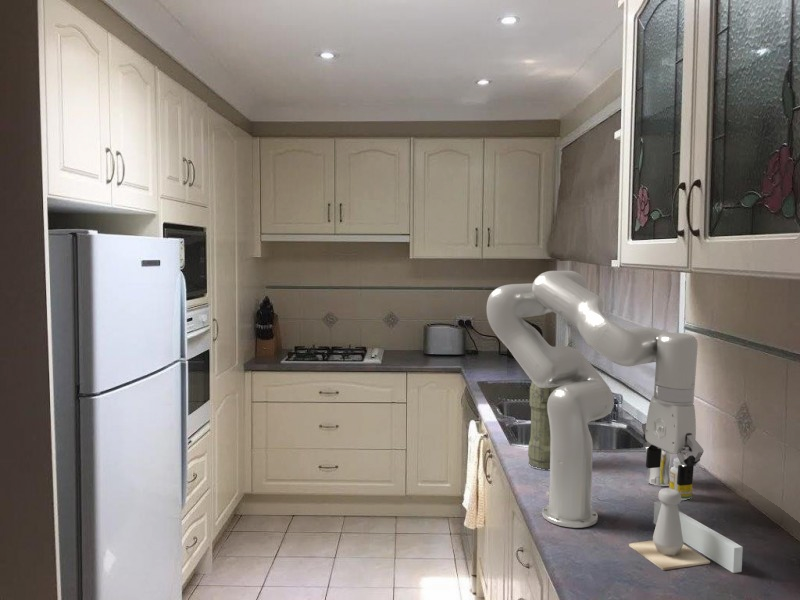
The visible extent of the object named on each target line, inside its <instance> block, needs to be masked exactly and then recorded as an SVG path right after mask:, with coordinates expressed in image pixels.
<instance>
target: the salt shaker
mask: <svg viewBox="0 0 800 600" xmlns="http://www.w3.org/2000/svg"><path fill="white" fill-rule="evenodd" d="M657 495H658V496H657V497H658V499H659V502H660V501H661V502H662V504H661V508H660V512H659V515H658V519H657V523H656V524H655V529H654V531H653V536H652V540H653V541H654V544H655V547H656V549H657V551H658V552H659V553H661V554H663V555H667V556H675V555H677V554H679V552H680V550H681V548H682V546H683V544H684V542H683V537H682V530H681V523H680V516H679V511H680V509H679V505H680V503H681V502H682V500H681V494H680V493H679V491H677V490H674V489H670V488H669V487H663V488H661V489H660V490H659V491H658V494H657Z"/></svg>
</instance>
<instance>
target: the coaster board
mask: <svg viewBox="0 0 800 600" xmlns="http://www.w3.org/2000/svg"><path fill="white" fill-rule="evenodd" d="M628 546H629V547H630V548H632V550H634V551H635V552H637V553H639V554H640V555H641V556H642V557H644V558H645V559H646V560H648V561H649V562H651V563H653V564H654V565H655V566H656V567H658V568H659V569H661V570H662V571H666V570H667V571H669V570H674V569H680V568H688V567H694V566H695V567H696V566H701V565H708V564H709V565H710V563H711V561H710V559H709V558H708V559H707V558H706V556H705V557H704V556H703V555H702V554H700V553H698V551H695V549H693V548H691V547H690V546H687V544H684V543H683V546H682V548H681V550H680V552H679V554H677V555H675V556H667V555H663V554H661V553H659V552H658V551H657V549H656V547H655V544H654V541H653V539H652V540H645V541H638V542H632V543H628Z"/></svg>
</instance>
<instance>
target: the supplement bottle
mask: <svg viewBox="0 0 800 600" xmlns="http://www.w3.org/2000/svg"><path fill="white" fill-rule="evenodd" d="M672 464H673V466H670V468H669V477H670V484H669V486H668V488H670V489H674V490H677V491H679V493H680V494H681V499H690V498H691V499H692V498H693V482H692V484H691V485H682V486H680V485H678V484H677V475H678V465H681V464H680V461H679V459H678V457H675V458H673V462H672ZM691 499H690V500H691Z"/></svg>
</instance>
